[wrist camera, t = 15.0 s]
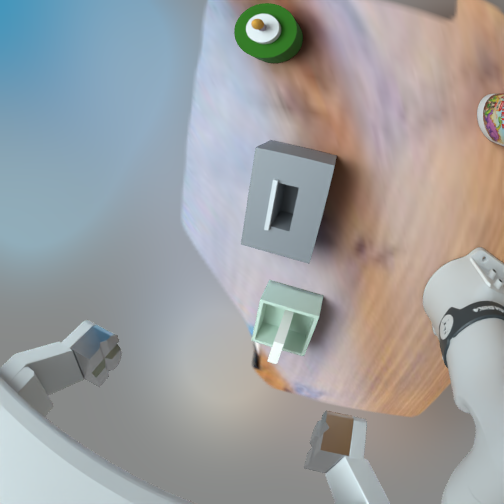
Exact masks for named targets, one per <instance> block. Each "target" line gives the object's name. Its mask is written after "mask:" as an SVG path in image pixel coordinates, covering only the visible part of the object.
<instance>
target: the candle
mask: <svg viewBox="0 0 504 504" xmlns="http://www.w3.org/2000/svg"><path fill="white" fill-rule="evenodd" d="M235 39H236V41H237V44H238V45H239V47H240V48H241V49H242V50H243V51H244V52H246V53H247V54H249V55H251V56H253V57H255V58H257V59H259V60H262V61H264V62H268V63H281V62H284V61H287V60H289V59H291V58H292V57H294V56H295V55H296V54H297V53H298V51H299V50H300V48H301V46H302V42H303V34H302V30H301V28H300V26H299V25H298V23H297V22H296V20H295V19H294V17H293V16H292V15H291V13H290V12H289V11H287V10H286V9H285V8H283V7H281V6H279V5H275V4H269V3H266V4H259V5H255V6H253V7H250V8H249V9H247V10H246V11H245V12H243V13H242V14H241V16H240V17H239V18H238V20H237V22H236V25H235Z"/></svg>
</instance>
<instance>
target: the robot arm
mask: <svg viewBox="0 0 504 504" xmlns="http://www.w3.org/2000/svg"><path fill="white" fill-rule="evenodd" d="M483 257H485V258H484V259H482V258H483ZM423 307H424V310H425V312H426V314H427V316H428V317H429V319H430V320H431V322H432V329H433V332H434V334H435V335H436V336H437V337H438V339H439V342H440V348H441V352H442V358H443V360H444V363H445V365H446V367H447V368H448V370H449V375H450V380H451V386H452V391H453V397H454V402H455V404H456V405H457V406H458V408H459V409H460V410H462V411H463V412H466V413H469V414H471V415H472V417H473V420H474V422H475V427H476V435H475V441H474V446H473V447H472V449H471V450H470V451H469V453H468V454H467V455H466V456H465V458H464V459H463V460H462V462H461V463H460V464H459V465H458V466H457V467H456V469H455V470H454V471H453V473H452V475H451V477H450V479H449V481H448V483H447V485H446V488H445V490H444V493H443V496H442V501H441V504H504V263H503V262H501V261H500V260H498V259H497V258H496V257H494V256H493V255H492V254H490V253H489V252H487V251H486V250H485V249H483V248H481V247H478V248H476V249H474V250H473V251H472V252H470V253H469V254H468V255H467V256H465V257H462V258H459V259H456V260H453V261H450V262H448V263H447V264H445V265H443V266H442V267H441V268H439V269H438V270H437V271H436V272H435V273H434V274H433V276H432V277H431V278H430V280H429V281H428V283H427V285H426V287H425V290H424V294H423ZM118 342H119V339H118V336H117V335H115V334H113V333H112V332H110V331H108V330H106V329H104V328H102V327H100V326H98V325H97V324H95V323H93V322H91V321H89V320H86V321H83V322H82V323H81V324H80V325H79V326H78V327H77V328H76V329H75V330H74V331H73V332H72V333H71V334H70V335H69V336H68V337H67V338H66V339H65V340H64V341H63V342H62V343H61V342H55V343H52V344H49V345H45V346H42V347H38V348H35V349H31V350H28V351H24V352H20V353H17V354H14V355H13V356H12V357H11V358H10V359H9V360H8V361H7V362H6V363H5V364H4V365H3V366H2V367H1V368H0V504H196V503H193V502H191V501H189V500H186V499H184V498H181V497H179V496H176V495H174V494H172V493H169V492H167V491H165V490H163V489H161V488H158V487H156V486H154V485H152V484H150V483H148V482H146V481H144V480H142V479H140V478H138V477H136V476H134V475H133V474H131V473H129V472H127V471H125V470H123V469H122V468H120V467H118V466H116V465H115V464H113V463H111V462H109V461H108V460H106V459H104V458H103V457H101V456H99V455H98V454H96V453H95V452H93V451H92V450H90V449H88V448H87V447H86V446H84V445H83V444H81V443H80V442H78V441H76V440H75V439H74V438H72V437H71V436H69V435H68V434H67V433H65V432H64V431H62V430H61V429H60V428H59V427H57V426H56V425H54V424H53V423H52V422H51V421H50V420H48V419H47V418H46V415H47V414H48V412H50V410H51V409H52V408H53V403H52V401H51V400H50V398H49V397H48V395H50V394H53V393H55V392H57V391H59V390H62V389H64V388H66V387H69V386H71V385H73V384H75V383H77V382H80V381H82V380H84V379H86V380H88V381H89V382H91V383H93V384H94V385H96V386H98V387H100V386H101V385H102V384H103V383H104V382H105V380H106V379H107V378H108V377H109V371H111V370H114V369H115V368H116V367H117V365H118V364H119V362H120V359H121V349H120V347H119V346H118V344H117V343H118ZM366 429H367V421H366V419H364V418H359V417H353V416H350V415H345V414H340V413H336V412H331V411H325V412H324V414H323V415H322V420H321V421H318V423H317V424H316V426H315V428H314V430H313V433H312V437H311V441H310V444H311V446H312V448H311V449H310V451H309V452H308V453H307V458H306V461H305V466H304V468H305V469H309V470H313V471H318V472H322V473H326V474H325V475H326V478H327V481H328V483H329V487H330V490H331V493H332V495H333V498H334V501H335V504H390V502H389V500H388V498H387V496H386V494H385V492H384V490H383V488H382V487H381V485H380V483H379V481H378V479H377V477H376V475H375V473H374V471H373V469H372V468H371V466H370V464H369V462H368V460H367V459H364V451H365V441H366V440H365V439H366Z"/></svg>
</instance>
